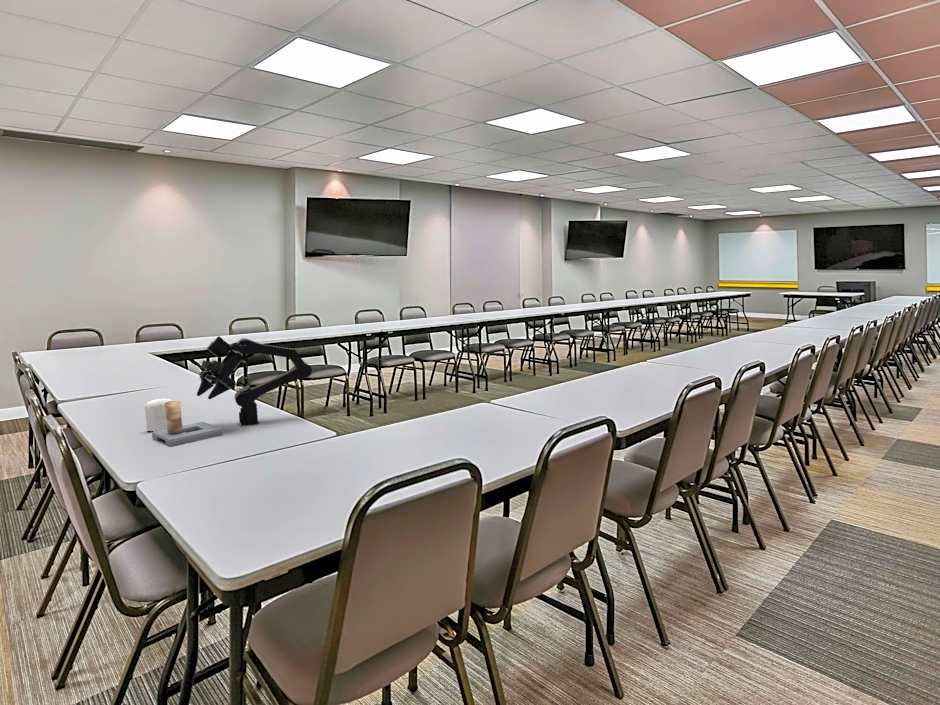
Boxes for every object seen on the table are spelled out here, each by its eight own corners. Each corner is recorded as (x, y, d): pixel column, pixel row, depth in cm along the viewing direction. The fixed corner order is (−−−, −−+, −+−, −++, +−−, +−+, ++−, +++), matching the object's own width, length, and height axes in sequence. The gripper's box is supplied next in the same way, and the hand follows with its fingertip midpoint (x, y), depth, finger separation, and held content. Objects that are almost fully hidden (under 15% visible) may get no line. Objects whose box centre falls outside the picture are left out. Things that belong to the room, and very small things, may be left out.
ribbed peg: (185, 437, 216) (182, 400, 214) (178, 441, 211) (175, 403, 209) (173, 437, 217) (169, 400, 215) (165, 441, 212) (161, 403, 210)
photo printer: (175, 426, 232) (173, 396, 230) (177, 428, 228) (174, 398, 227) (146, 430, 226) (143, 399, 225) (147, 433, 223) (144, 401, 221)
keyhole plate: (203, 427, 229) (202, 421, 229) (222, 434, 219) (222, 428, 219) (152, 438, 215) (151, 432, 215) (170, 446, 205) (169, 439, 205)
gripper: (202, 350, 230) (176, 382, 223) (225, 354, 218) (198, 387, 211) (222, 367, 237) (198, 398, 230) (246, 372, 225) (220, 405, 218)
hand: (203, 397), depth 222 cm, fingers open, 9 cm apart
